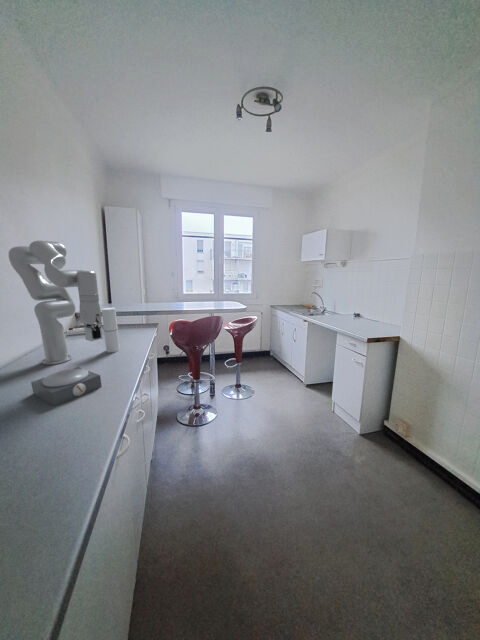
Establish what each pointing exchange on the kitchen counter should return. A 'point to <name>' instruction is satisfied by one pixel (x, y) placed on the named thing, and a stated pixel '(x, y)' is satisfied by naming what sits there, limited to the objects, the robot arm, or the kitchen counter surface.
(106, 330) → the cylindrical container
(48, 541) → the kitchen counter surface
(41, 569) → the kitchen counter surface
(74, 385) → the kitchen scale
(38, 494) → the kitchen counter surface
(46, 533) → the kitchen counter surface
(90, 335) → the steel spacer
